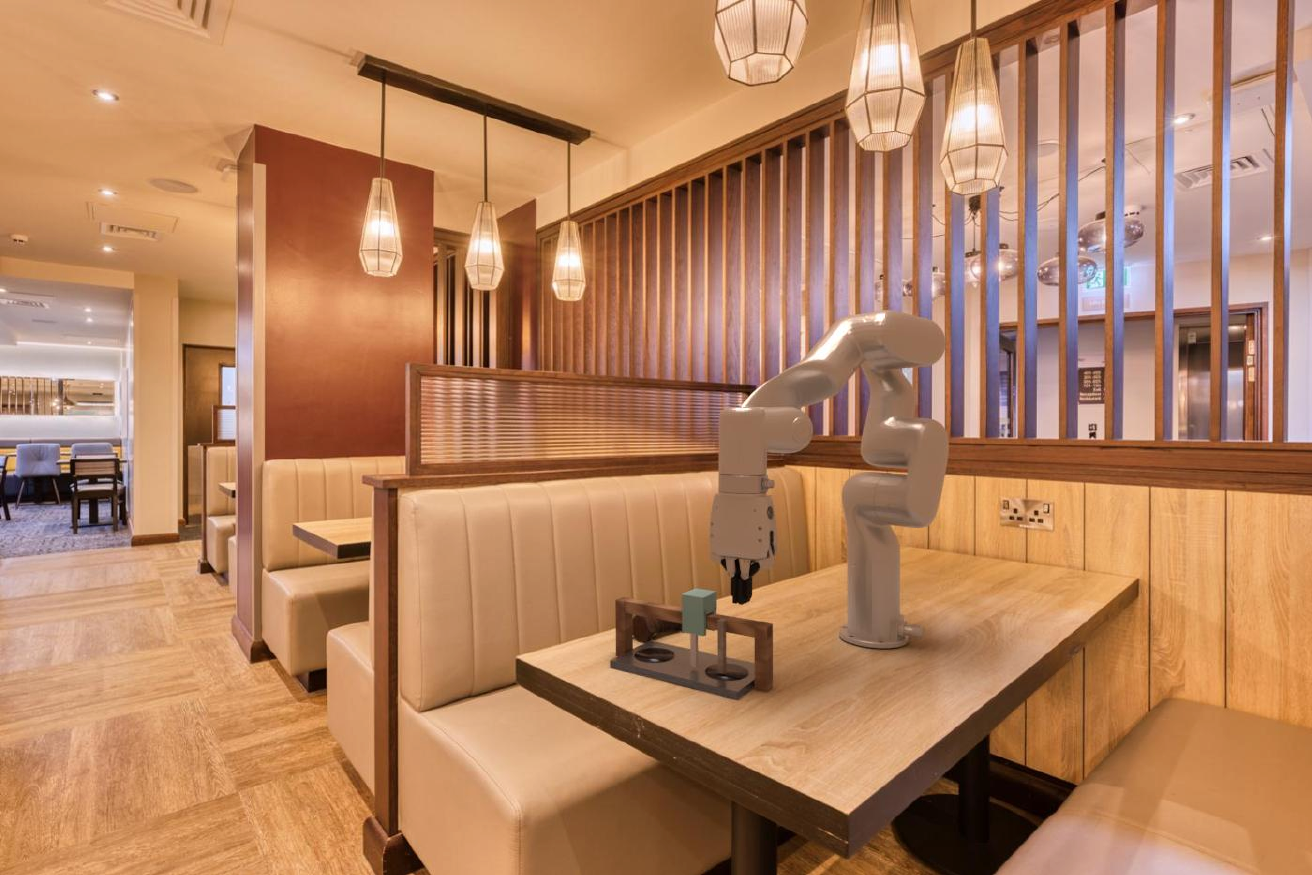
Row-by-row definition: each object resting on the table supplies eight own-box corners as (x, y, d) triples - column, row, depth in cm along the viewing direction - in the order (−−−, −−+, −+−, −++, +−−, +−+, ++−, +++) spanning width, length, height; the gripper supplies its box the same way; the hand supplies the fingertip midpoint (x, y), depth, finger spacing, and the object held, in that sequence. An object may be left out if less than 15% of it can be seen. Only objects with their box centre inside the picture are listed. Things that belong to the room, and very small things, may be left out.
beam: (773, 687, 102) (772, 623, 101) (764, 694, 99) (764, 629, 99) (623, 651, 118) (623, 596, 118) (612, 657, 115) (612, 600, 115)
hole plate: (770, 673, 107) (770, 666, 107) (737, 699, 97) (737, 691, 97) (650, 646, 120) (650, 639, 120) (610, 667, 111) (610, 659, 111)
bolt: (697, 634, 133) (641, 649, 123) (682, 617, 136) (627, 631, 126) (707, 613, 131) (652, 626, 121) (692, 596, 134) (637, 608, 124)
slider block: (716, 661, 108) (716, 591, 108) (703, 669, 105) (703, 597, 104) (695, 656, 111) (695, 588, 110) (682, 664, 107) (681, 594, 107)
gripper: (796, 486, 101) (795, 604, 102) (712, 481, 110) (711, 590, 110) (777, 490, 95) (775, 615, 95) (689, 484, 104) (688, 600, 104)
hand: (741, 601), depth 103 cm, fingers closed
